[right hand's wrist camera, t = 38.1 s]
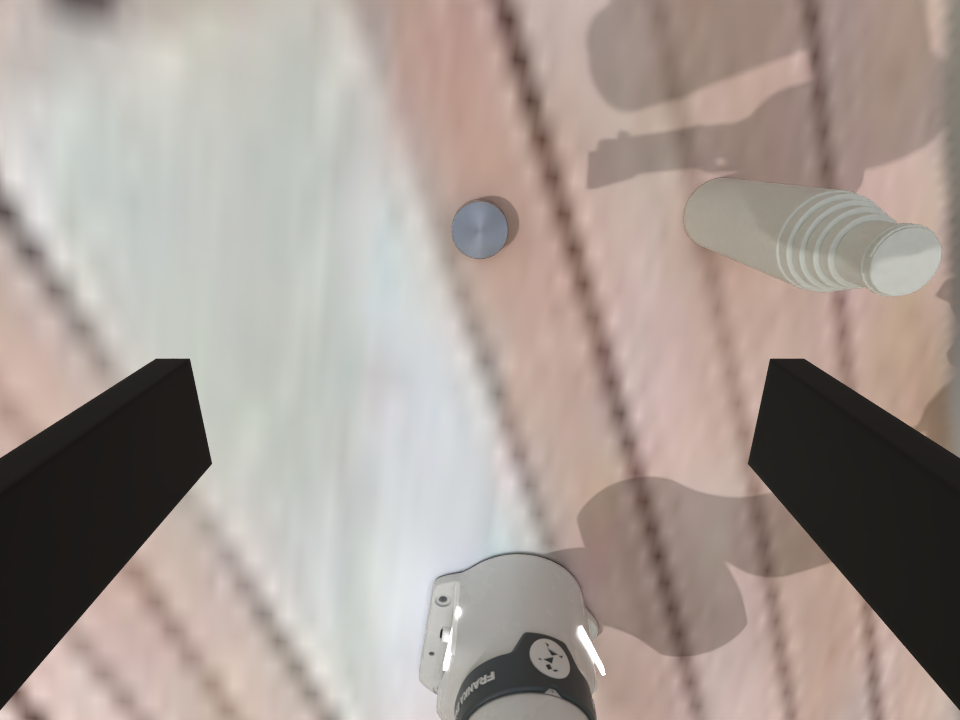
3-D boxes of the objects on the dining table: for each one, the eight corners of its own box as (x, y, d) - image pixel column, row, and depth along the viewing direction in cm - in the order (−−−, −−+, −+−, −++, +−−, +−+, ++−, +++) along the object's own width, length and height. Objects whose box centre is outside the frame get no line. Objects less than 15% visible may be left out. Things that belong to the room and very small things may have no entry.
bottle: (764, 189, 42) (997, 220, 23) (733, 256, 44) (924, 335, 25) (701, 168, 42) (886, 182, 23) (672, 237, 44) (820, 302, 25)
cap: (442, 232, 44) (440, 236, 42) (474, 187, 42) (474, 189, 40) (484, 264, 45) (485, 270, 43) (517, 221, 43) (519, 225, 41)
